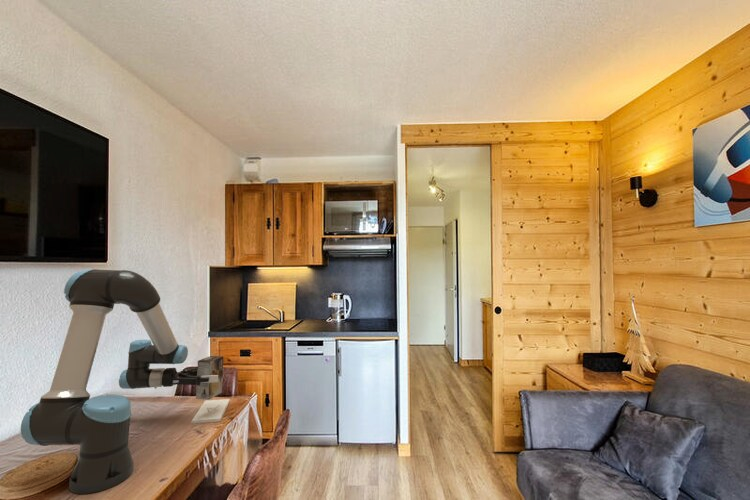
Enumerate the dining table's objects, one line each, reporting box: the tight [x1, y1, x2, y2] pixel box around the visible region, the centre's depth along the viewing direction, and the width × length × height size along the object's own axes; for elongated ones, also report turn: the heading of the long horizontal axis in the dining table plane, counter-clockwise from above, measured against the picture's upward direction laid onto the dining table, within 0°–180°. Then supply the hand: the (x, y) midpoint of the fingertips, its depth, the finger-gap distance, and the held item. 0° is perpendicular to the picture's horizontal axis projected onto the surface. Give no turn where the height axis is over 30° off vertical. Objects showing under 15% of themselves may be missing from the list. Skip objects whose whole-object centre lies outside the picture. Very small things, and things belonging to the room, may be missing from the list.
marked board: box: [191, 398, 231, 424], centre depth 150 cm, size 22×11×1 cm, turn 14°
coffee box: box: [195, 355, 224, 401], centre depth 145 cm, size 9×6×16 cm
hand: (220, 374), depth 146 cm, fingers closed on coffee box, 10 cm apart
